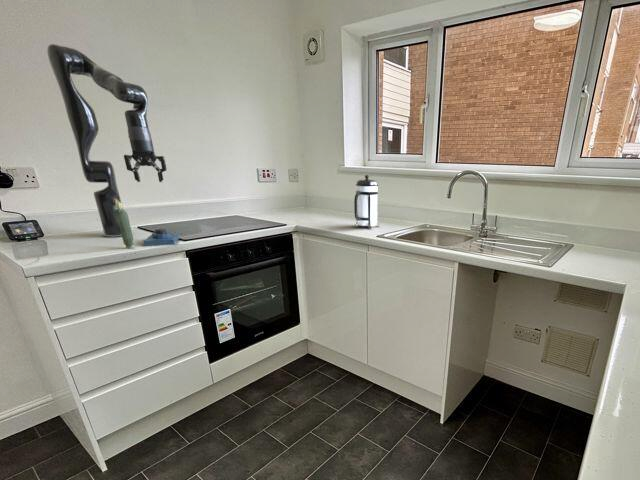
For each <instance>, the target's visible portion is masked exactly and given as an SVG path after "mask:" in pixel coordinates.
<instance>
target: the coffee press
mask: <svg viewBox="0 0 640 480" xmlns="http://www.w3.org/2000/svg"><path fill="white" fill-rule="evenodd" d="M369 178H370V176H369V174H365V175H364V179H359V180H357V181H356V183H355V186H356V190H355V195H354V201H353V203H354V206H353V207H354V208H353V209H354V218H355V220H356V222H355V224H354V227H355V228H358V227H359V226H360V227H367V229H368V230H371V229H372V227H374V226H376V227H377V228H379V227H380V225H379V223H378V193H379V192H378V186H379V184H378V182H377V180H375V179H369Z"/></svg>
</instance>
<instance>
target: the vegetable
mask: <svg viewBox="0 0 640 480" xmlns="http://www.w3.org/2000/svg"><path fill="white" fill-rule="evenodd" d="M114 202H115V204H116V208H118V209H116V210H115V212H114V216H115V219H116V222H117V224H118V226H119V228H120V231H121V234H122V236H121V238H122V242H123V245H124V246H125V247H126V249H131V248H132V247H133V245H134V234H133V232H132V226H131V223H130V219H129V215H128V212H127V211H126V210H125V209H124V208H123V209H122V207H123V203H122V202H121V203H122V204H121V203H120V202H119V201H118V200H116V199H113V203H114Z"/></svg>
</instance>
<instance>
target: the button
mask: <svg viewBox="0 0 640 480" xmlns="http://www.w3.org/2000/svg"><path fill="white" fill-rule="evenodd" d="M155 232H156V234H166V232H167V229H166V228H156V229H154V233H155Z"/></svg>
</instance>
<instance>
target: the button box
mask: <svg viewBox="0 0 640 480" xmlns="http://www.w3.org/2000/svg"><path fill="white" fill-rule="evenodd" d="M179 239H180V235H179V233H172V232H170V231H166V234H156V232H155V231H154V232H152V233H151V234H150V235H149V236H147V237H146V238H145V239H144V240H143V243H144V247H150V246H174V245H176V244H177V242H178V241H179Z"/></svg>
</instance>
